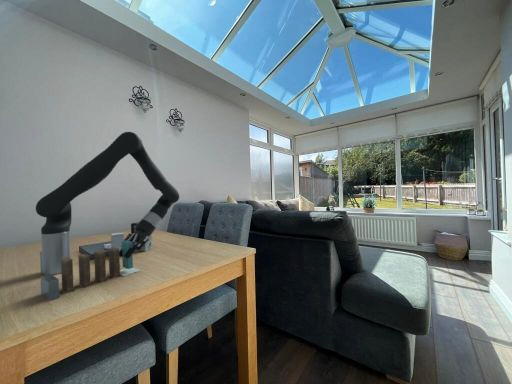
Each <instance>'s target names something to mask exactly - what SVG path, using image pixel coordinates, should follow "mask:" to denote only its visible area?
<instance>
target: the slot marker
mask: <svg viewBox="0 0 512 384" xmlns="http://www.w3.org/2000/svg"><path fill="white" fill-rule="evenodd" d="M141 271H142V270H141V269H139V268H135V267H133V268H131V269H126V268H123V269H120V277H126V276H129V275H132V274H135V273H138V272H141Z"/></svg>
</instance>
